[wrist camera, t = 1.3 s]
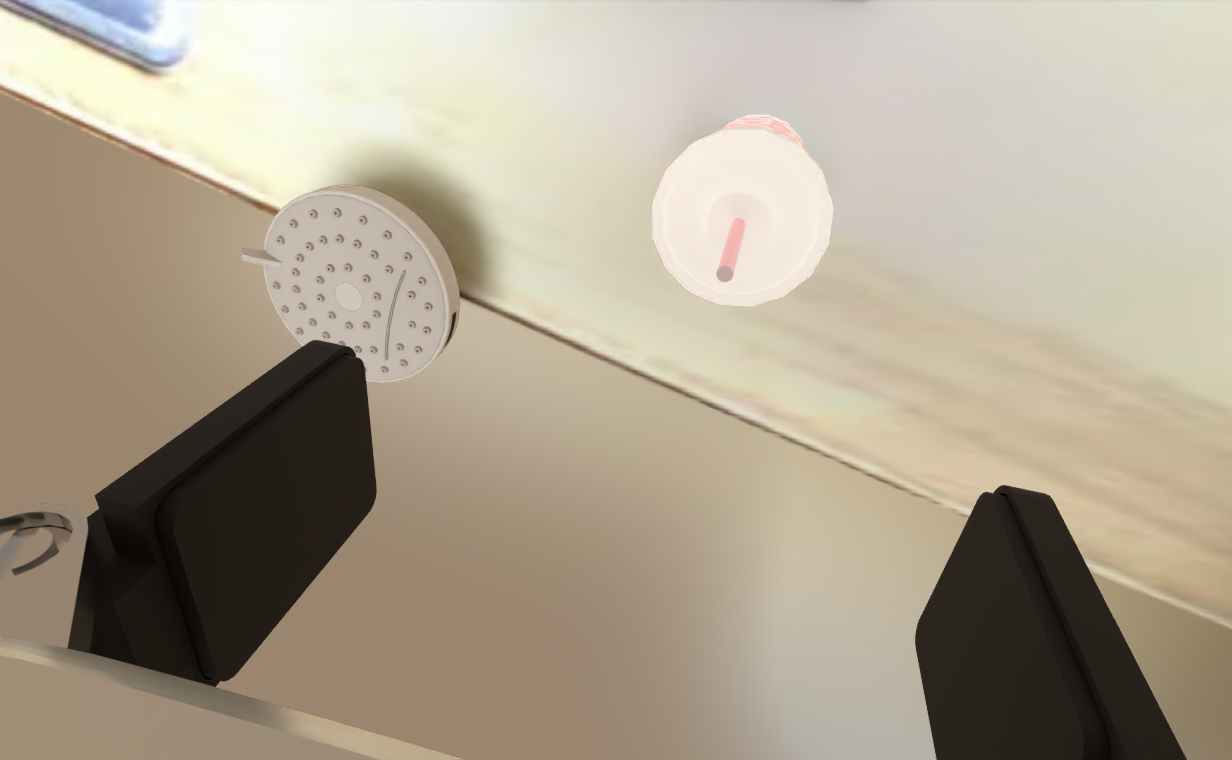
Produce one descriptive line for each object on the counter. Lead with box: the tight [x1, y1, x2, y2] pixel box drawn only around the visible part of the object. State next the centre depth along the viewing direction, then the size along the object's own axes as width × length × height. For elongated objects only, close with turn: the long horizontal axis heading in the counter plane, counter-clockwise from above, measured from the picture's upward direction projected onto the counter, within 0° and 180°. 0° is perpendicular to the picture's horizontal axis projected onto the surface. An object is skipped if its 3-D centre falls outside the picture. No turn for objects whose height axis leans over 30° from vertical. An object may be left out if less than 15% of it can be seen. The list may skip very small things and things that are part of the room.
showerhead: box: [241, 185, 460, 382], centre depth 34 cm, size 9×7×10 cm
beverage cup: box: [652, 115, 834, 307], centre depth 25 cm, size 6×6×14 cm
